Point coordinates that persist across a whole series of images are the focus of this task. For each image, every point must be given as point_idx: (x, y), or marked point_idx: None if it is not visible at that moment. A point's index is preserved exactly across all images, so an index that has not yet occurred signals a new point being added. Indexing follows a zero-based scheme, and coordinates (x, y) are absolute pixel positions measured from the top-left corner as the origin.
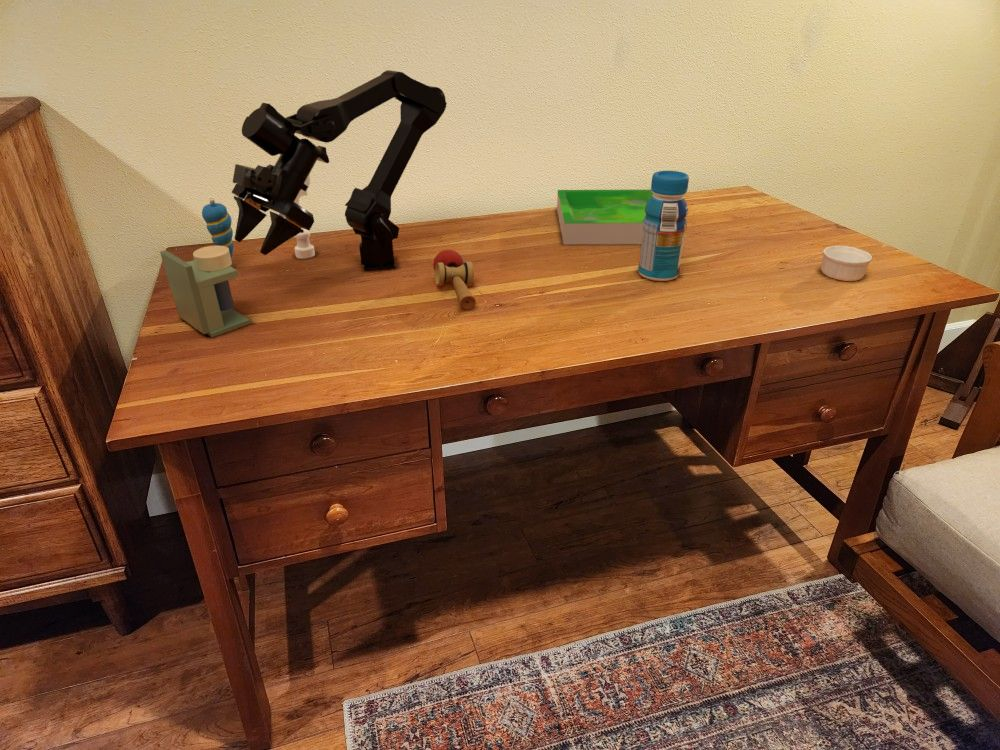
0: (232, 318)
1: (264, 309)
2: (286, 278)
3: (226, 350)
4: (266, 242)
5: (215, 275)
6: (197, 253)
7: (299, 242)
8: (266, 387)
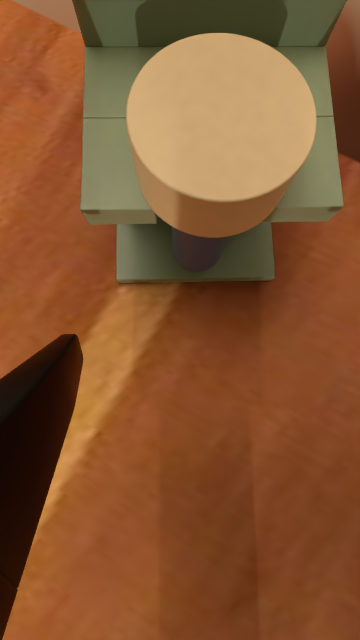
0: (155, 252)
1: (169, 347)
2: (324, 503)
3: (39, 186)
4: (10, 373)
5: (96, 122)
6: (244, 55)
7: None
8: None
